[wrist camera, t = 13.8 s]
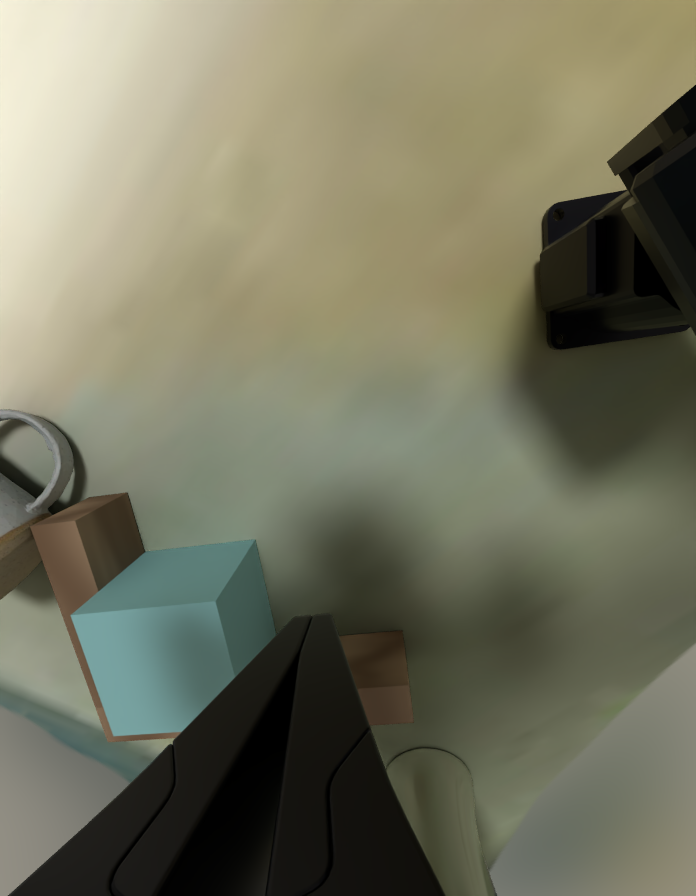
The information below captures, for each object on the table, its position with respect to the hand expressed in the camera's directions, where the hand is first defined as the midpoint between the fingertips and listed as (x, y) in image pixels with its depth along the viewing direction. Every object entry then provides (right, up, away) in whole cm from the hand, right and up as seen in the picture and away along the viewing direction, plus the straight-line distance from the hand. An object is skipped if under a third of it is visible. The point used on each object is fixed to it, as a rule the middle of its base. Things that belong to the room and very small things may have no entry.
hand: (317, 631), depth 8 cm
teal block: (-8, -5, +15) cm, 18 cm away
